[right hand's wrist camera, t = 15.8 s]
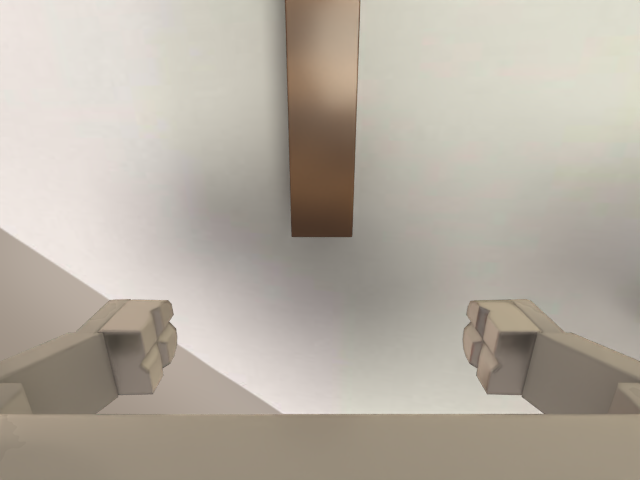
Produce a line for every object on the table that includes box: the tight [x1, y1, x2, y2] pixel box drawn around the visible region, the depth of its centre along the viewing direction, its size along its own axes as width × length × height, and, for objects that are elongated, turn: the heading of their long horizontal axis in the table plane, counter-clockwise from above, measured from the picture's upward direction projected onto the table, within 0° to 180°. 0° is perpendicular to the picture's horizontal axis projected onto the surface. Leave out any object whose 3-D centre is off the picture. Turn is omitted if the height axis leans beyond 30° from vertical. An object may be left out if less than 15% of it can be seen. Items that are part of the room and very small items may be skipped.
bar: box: [285, 0, 360, 237], centre depth 27 cm, size 24×4×9 cm, turn 0°
